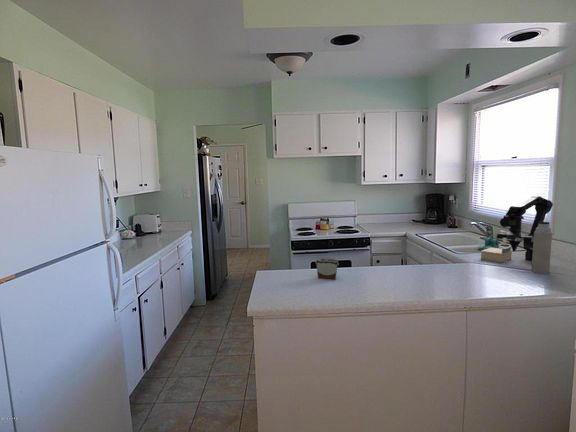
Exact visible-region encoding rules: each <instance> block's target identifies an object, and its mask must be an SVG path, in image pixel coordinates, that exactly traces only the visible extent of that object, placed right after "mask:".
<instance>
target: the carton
mask: <svg viewBox="0 0 576 432" xmlns="http://www.w3.org/2000/svg"><path fill="white" fill-rule="evenodd" d="M512 252H513V251H512ZM512 252H509V253H506V254H504V255H500V254H493V253H487V252H481V251H480V253H481V254H480V260H482V261H486V262H487V261H488V262H491V263H498V264H503V263H506V262H508V261H511V260H512V255H513V253H512Z"/></svg>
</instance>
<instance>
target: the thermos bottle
mask: <svg viewBox="0 0 576 432" xmlns="http://www.w3.org/2000/svg"><path fill="white" fill-rule="evenodd" d="M538 223H539V224H538V227H536V231H534V242H533V255H532V260H531V272H534V273H538V274H549V273H550V268H551V267H550V266H551V265H550V264H551V255H552V254H551V253H552V241H553V240H552V239H553V232H552V228H551V227H550V222H548V221H544V222H538Z"/></svg>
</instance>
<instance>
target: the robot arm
mask: <svg viewBox="0 0 576 432" xmlns="http://www.w3.org/2000/svg"><path fill="white" fill-rule="evenodd" d="M553 205H554V204H553V202H552V201H551V200H549V199H547V198H543V197H542V196H540V195H539V196H537V195H533V196H531V197H530V198H528V199H526V200H524V201H523V202H521V203H518V204H512V205H510V207H509V209H508V210H507V212H506V213H505V215H503V217H502V218H501V219H500V221H499V224H500V226H501V227H502V228H508V229H509V230H508V231H507V232H506V233H502V232H499V233H497V234H496V239H498V240H499V239H500V240H502V239H504V238H505V239H506V241H507V242H509V244H510V247H511V250H512V252H516V250H517V248H518V246H519V245H520V244H521V243H522V242H523V243H522V245H523V249H524V250H526V251H525V255H524V260H526V261H527V260H528V261H532V255H533V242H534V231H536V227H538V224H539V223H538V222H545V219H546V215H547V214H549V213H550V211H551V210H552V207H553ZM532 207H534V209H535V211H536V212H535V216H534V219H533V223H532V225H531V229H530V231H529V234H526V235H524V236H522V229H523V228H522V220H524V219H525V217H524V216H523V215H524V214H526V212H527V210H529V209H530V208H532Z"/></svg>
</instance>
